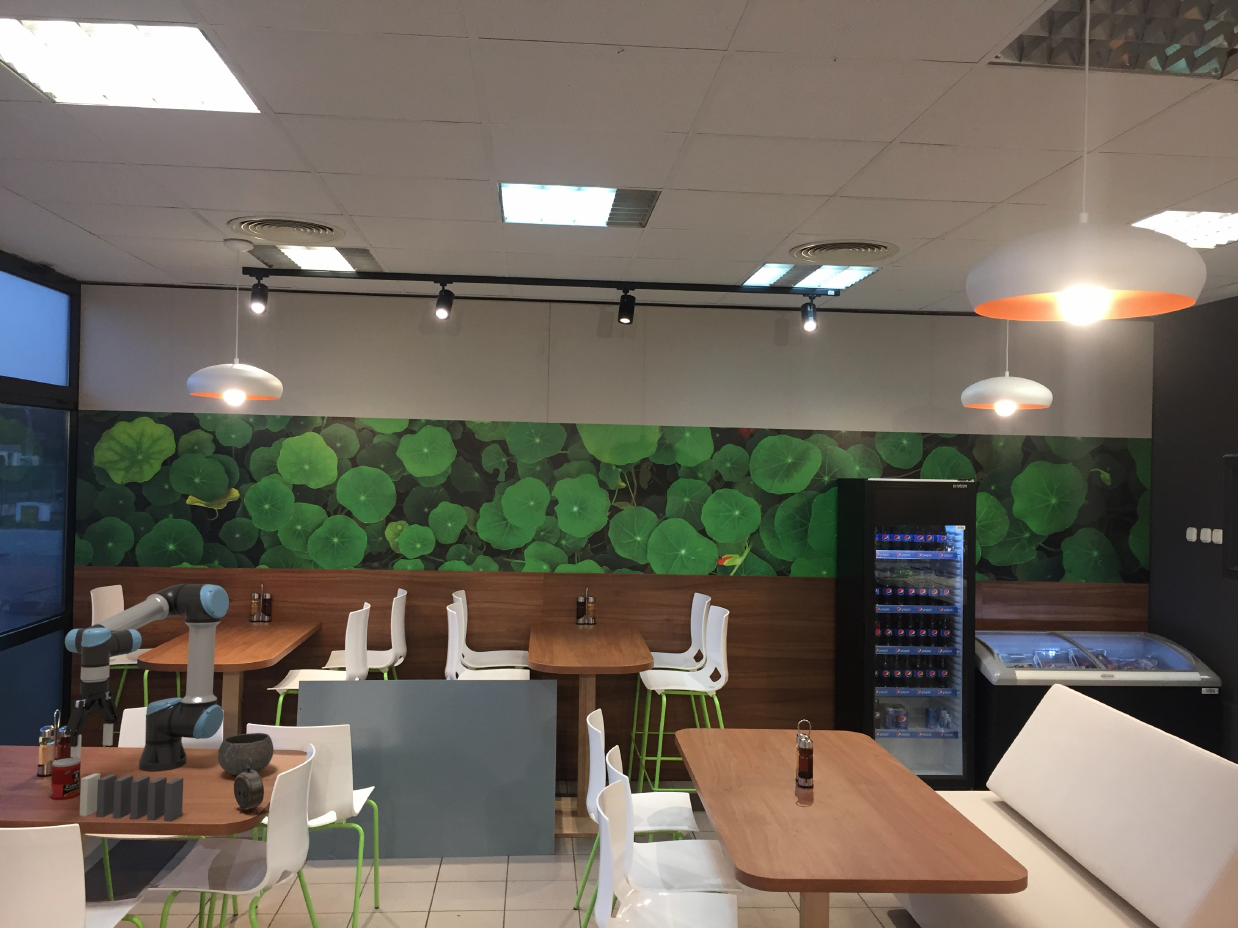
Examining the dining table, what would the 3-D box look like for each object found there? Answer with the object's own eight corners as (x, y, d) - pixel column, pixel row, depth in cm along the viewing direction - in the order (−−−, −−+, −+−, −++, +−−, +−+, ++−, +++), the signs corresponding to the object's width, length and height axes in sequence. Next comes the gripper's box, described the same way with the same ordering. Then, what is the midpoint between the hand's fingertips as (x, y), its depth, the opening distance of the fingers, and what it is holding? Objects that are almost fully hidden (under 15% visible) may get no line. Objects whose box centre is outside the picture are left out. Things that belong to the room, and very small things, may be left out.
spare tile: (79, 815, 261) (81, 778, 261) (92, 809, 266) (93, 773, 266) (86, 816, 260) (87, 778, 261) (98, 810, 265) (100, 773, 266)
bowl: (226, 785, 290) (228, 747, 290) (210, 772, 303) (211, 736, 304) (280, 775, 301) (281, 738, 302) (262, 763, 315) (263, 727, 316)
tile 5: (147, 819, 258) (148, 782, 258) (158, 813, 263) (159, 776, 263) (153, 820, 257) (155, 782, 258) (165, 814, 262) (166, 777, 263)
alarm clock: (264, 813, 264) (266, 758, 265) (247, 817, 260) (249, 762, 261) (246, 804, 271) (248, 752, 272) (229, 809, 267) (231, 755, 268)
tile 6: (164, 820, 257) (165, 783, 257) (175, 814, 262) (176, 777, 263) (171, 821, 257) (172, 783, 257) (182, 815, 262) (183, 778, 262)
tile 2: (96, 816, 260) (97, 779, 260) (108, 810, 265) (110, 773, 266) (103, 817, 260) (104, 779, 260) (115, 811, 265) (116, 774, 265)
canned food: (65, 800, 273) (67, 765, 274) (44, 798, 275) (45, 763, 275) (85, 793, 281) (86, 758, 281) (64, 791, 282) (65, 756, 283)
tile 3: (113, 817, 259) (114, 780, 260) (125, 811, 264) (126, 774, 265) (120, 818, 259) (121, 780, 259) (132, 812, 264) (133, 775, 264)
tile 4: (130, 818, 258) (131, 781, 259) (141, 812, 264) (143, 775, 264) (136, 819, 258) (138, 781, 259) (148, 813, 263) (149, 776, 264)
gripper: (112, 671, 278) (109, 739, 277) (52, 687, 253) (49, 761, 252) (133, 672, 277) (131, 740, 276) (75, 688, 252) (72, 763, 251)
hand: (92, 750), depth 264 cm, fingers open, 12 cm apart
